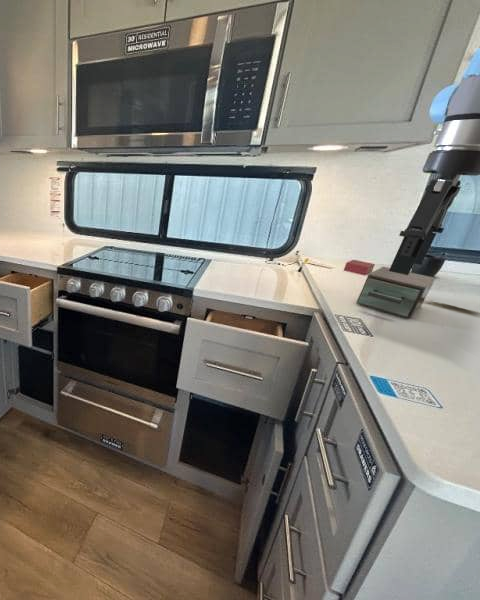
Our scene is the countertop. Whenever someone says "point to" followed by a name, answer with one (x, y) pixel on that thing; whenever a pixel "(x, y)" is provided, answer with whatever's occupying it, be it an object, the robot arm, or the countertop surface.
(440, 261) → the mug
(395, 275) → the cabinet
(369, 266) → the red rectangular block
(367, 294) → the drawer
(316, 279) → the countertop surface
